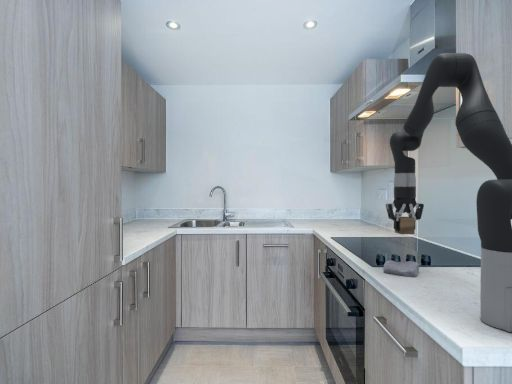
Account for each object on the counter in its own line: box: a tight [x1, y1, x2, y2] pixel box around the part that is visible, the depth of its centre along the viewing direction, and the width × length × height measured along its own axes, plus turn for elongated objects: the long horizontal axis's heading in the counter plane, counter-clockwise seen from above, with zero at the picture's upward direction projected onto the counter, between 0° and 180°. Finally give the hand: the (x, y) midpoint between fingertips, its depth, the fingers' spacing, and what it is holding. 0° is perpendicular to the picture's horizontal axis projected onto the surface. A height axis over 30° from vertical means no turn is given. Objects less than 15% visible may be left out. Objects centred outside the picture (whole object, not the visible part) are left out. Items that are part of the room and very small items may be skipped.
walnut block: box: [394, 216, 416, 235], centre depth 122 cm, size 5×5×6 cm
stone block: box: [383, 259, 420, 278], centre depth 119 cm, size 12×5×10 cm
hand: (404, 230), depth 122 cm, fingers closed on walnut block, 5 cm apart
